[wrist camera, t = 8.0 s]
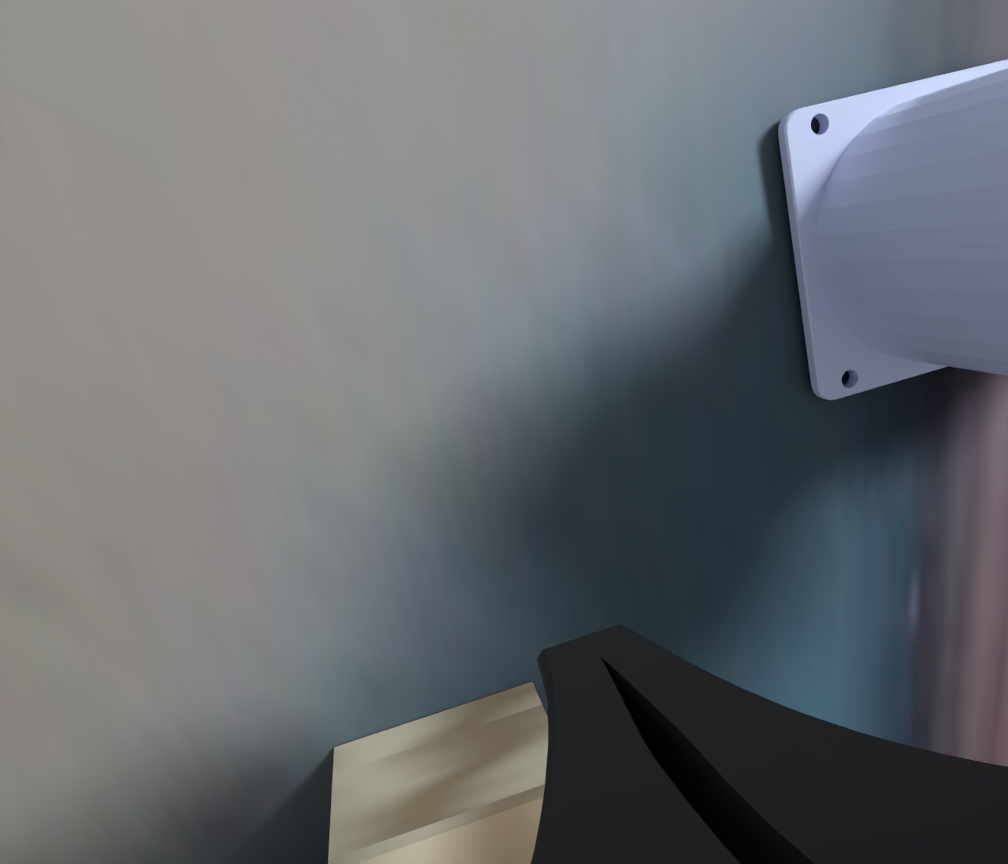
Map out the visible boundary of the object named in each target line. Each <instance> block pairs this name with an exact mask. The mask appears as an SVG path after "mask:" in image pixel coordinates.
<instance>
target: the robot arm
mask: <svg viewBox="0 0 1008 864" xmlns="http://www.w3.org/2000/svg"><path fill="white" fill-rule="evenodd" d="M813 117H815V118H816V119H818V121H819V124H820V129H819V132H818V133H817V135H816V134H815V133H814V132H813V131H812V128H811V120H812V119H813ZM778 137H779V144H780V152H781V160H782V167H783V175H784V182H785V190H786V197H787V205H788V213H789V220H790V228H791V235H792V243H793V250H794V258H795V266H796V273H797V281H798V288H799V296H800V303H801V311H802V319H803V326H804V334H805V341H806V349H807V356H808V364H809V372H810V379H811V386H812V389H813V392H814V393H815V394H816V395H817V396H818V397H820V398H823V399H826V400H836V399H840V398H843V397H846V396H850V395H853V394H856V393H860V392H863V391H867V390H870V389H873V388H877V387H880V386H883V385H887V384H890V383H894V382H897V381H900V380H904V379H907V378H911V377H914V376H917V375H921V374H924V373H927V372H931V371H934V370H938V369H941V368H944V367H948V366H950V367H956V368H962V369H969V370H975V371H981V372H988V373H994V374H1000V375H1007V376H1008V59H1007V60H1003V61H999V62H995V63H990V64H986V65H982V66H978V67H973V68H969V69H965V70H961V71H956V72H952V73H948V74H944V75H940V76H935V77H931V78H927V79H923V80H918V81H914V82H910V83H906V84H901V85H897V86H893V87H889V88H884V89H880V90H876V91H872V92H867V93H863V94H859V95H855V96H851V97H846V98H842V99H838V100H834V101H829V102H825V103H821V104H817V105H812V106H808V107H804V108H800V109H797V110H794V111H792V112H790V113H788V114H786V115H785V116H784V117H783V118H782V120H781V122H780V125H779V128H778ZM846 371H848V372H849V380H848V381H847V383H846V384H844V385H843V384H842V376H843V374H844V373H845V372H846ZM537 660H538V664H539V668H540V672H541V676H542V680H543V684H544V687H545V691H546V695H547V701H548V752H547V764H546V777H545V788H544V795H543V803H542V810H541V816H540V822H539V827H538V833H537V838H536V843H535V848H534V852H533V856H532V861H531V864H1008V767H1006V766H1000V765H994V764H988V763H983V762H978V761H974V760H969V759H964V758H959V757H954V756H949V755H945V754H940V753H936V752H932V751H928V750H924V749H920V748H916V747H912V746H908V745H904V744H900V743H896V742H892V741H888V740H885V739H881V738H878V737H874V736H871V735H867V734H864V733H860V732H857V731H854V730H851V729H848V728H845V727H842V726H839V725H836V724H833V723H830V722H827V721H824V720H821V719H818V718H815V717H812V716H809V715H806V714H803V713H801V712H798V711H795V710H793V709H790V708H787V707H785V706H782V705H780V704H778V703H775V702H773V701H771V700H768V699H766V698H764V697H761V696H759V695H756V694H754V693H752V692H749V691H747V690H745V689H742V688H740V687H738V686H736V685H734V684H732V683H730V682H727V681H725V680H723V679H721V678H719V677H717V676H715V675H713V674H711V673H709V672H707V671H705V670H703V669H701V668H699V667H697V666H695V665H693V664H691V663H689V662H687V661H686V660H684V659H682V658H680V657H678V656H676V655H675V654H673V653H671V652H669V651H667V650H665V649H664V648H662V647H660V646H658V645H657V644H655V643H653V642H651V641H649V640H648V639H646V638H644V637H642V636H641V635H639V634H637V633H635V632H633V631H632V630H630V629H628V628H626V627H624V626H623V625H621V624H620V625H617V626H614V627H611V628H608V629H605V630H602V631H599V632H596V633H593V634H590V635H587V636H583V637H580V638H577V639H574V640H571V641H568V642H565V643H562V644H559V645H556V646H553V647H550V648H547V649H544V650H542V652H541V654H540V655H539V657H538V659H537Z"/></svg>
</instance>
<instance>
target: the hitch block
mask: <svg viewBox="0 0 1008 864" xmlns="http://www.w3.org/2000/svg"><path fill="white" fill-rule="evenodd" d="M547 752H548V717H547V715H546V712H545V710H544V708H543V705H542V703H541V701H540V698H539V696H538V694H537V691H536V689H535V687H534V684H533V682H529V683H526V684H523V685H520V686H517V687H514V688H511V689H508V690H505V691H502V692H499V693H496V694H493V695H490V696H487V697H484V698H481V699H478V700H475V701H472V702H469V703H466V704H463V705H460V706H457V707H454V708H451V709H448V710H445V711H442V712H439V713H436V714H433V715H430V716H427V717H424V718H421V719H418V720H415V721H412V722H409V723H406V724H403V725H400V726H397V727H394V728H391V729H388V730H385V731H382V732H379V733H376V734H373V735H370V736H367V737H364V738H361V739H358V740H355V741H352V742H349V743H346V744H343V745H340V746H337V747H334V760H333V779H332V798H331V817H330V836H329V854H328V864H531V861H532V856H533V852H534V848H535V843H536V838H537V833H538V827H539V822H540V816H541V810H542V803H543V795H544V788H545V777H546V764H547Z"/></svg>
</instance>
